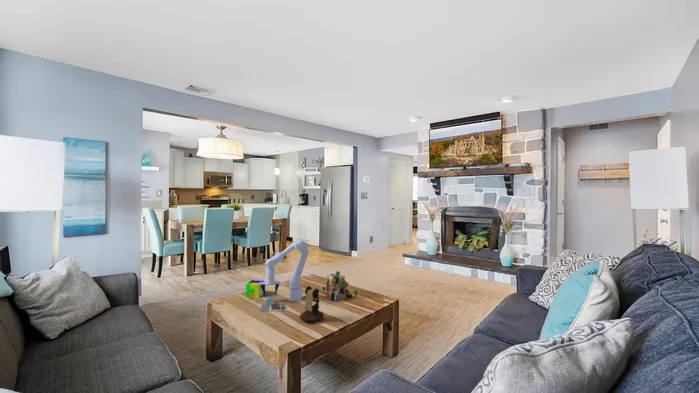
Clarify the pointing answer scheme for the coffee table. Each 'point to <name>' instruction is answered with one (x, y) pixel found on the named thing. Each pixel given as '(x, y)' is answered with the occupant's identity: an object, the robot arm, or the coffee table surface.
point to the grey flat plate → (268, 308)
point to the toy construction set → (337, 287)
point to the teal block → (270, 299)
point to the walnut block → (275, 305)
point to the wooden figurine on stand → (311, 306)
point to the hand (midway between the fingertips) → (270, 295)
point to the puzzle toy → (254, 289)
